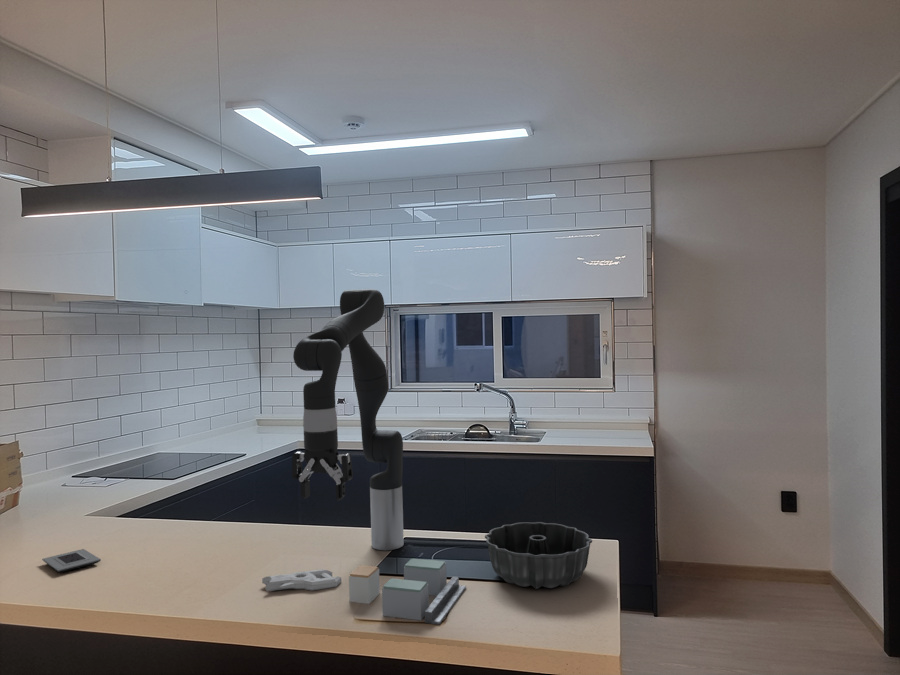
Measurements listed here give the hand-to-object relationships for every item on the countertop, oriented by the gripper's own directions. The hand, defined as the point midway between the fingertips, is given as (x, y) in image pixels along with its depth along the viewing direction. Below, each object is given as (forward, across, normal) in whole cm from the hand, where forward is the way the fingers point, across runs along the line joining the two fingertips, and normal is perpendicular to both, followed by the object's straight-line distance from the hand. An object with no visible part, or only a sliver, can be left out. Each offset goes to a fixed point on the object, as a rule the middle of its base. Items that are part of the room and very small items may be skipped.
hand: (322, 498), depth 153 cm
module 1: (+25, -6, -6) cm, 27 cm away
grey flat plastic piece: (+26, +12, -9) cm, 29 cm away
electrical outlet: (+26, +82, -5) cm, 86 cm away
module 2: (+25, -19, -14) cm, 34 cm away
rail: (+25, -26, -8) cm, 36 cm away
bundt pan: (+25, -43, -30) cm, 58 cm away
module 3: (+25, -19, -1) cm, 31 cm away
